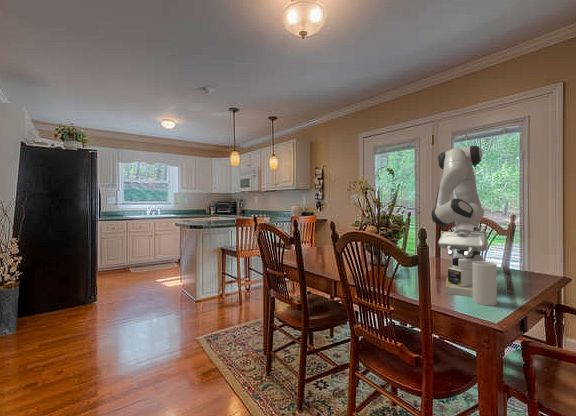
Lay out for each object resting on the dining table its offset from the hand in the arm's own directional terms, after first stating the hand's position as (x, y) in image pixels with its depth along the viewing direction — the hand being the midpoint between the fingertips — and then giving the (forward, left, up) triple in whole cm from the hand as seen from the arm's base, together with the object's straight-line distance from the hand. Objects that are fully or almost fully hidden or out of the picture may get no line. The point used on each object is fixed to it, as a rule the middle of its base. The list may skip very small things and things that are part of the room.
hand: (457, 255), depth 138 cm
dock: (-3, +1, -16) cm, 17 cm away
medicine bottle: (0, +1, -13) cm, 13 cm away
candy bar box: (-16, -34, -17) cm, 41 cm away
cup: (+12, +9, -17) cm, 23 cm away
